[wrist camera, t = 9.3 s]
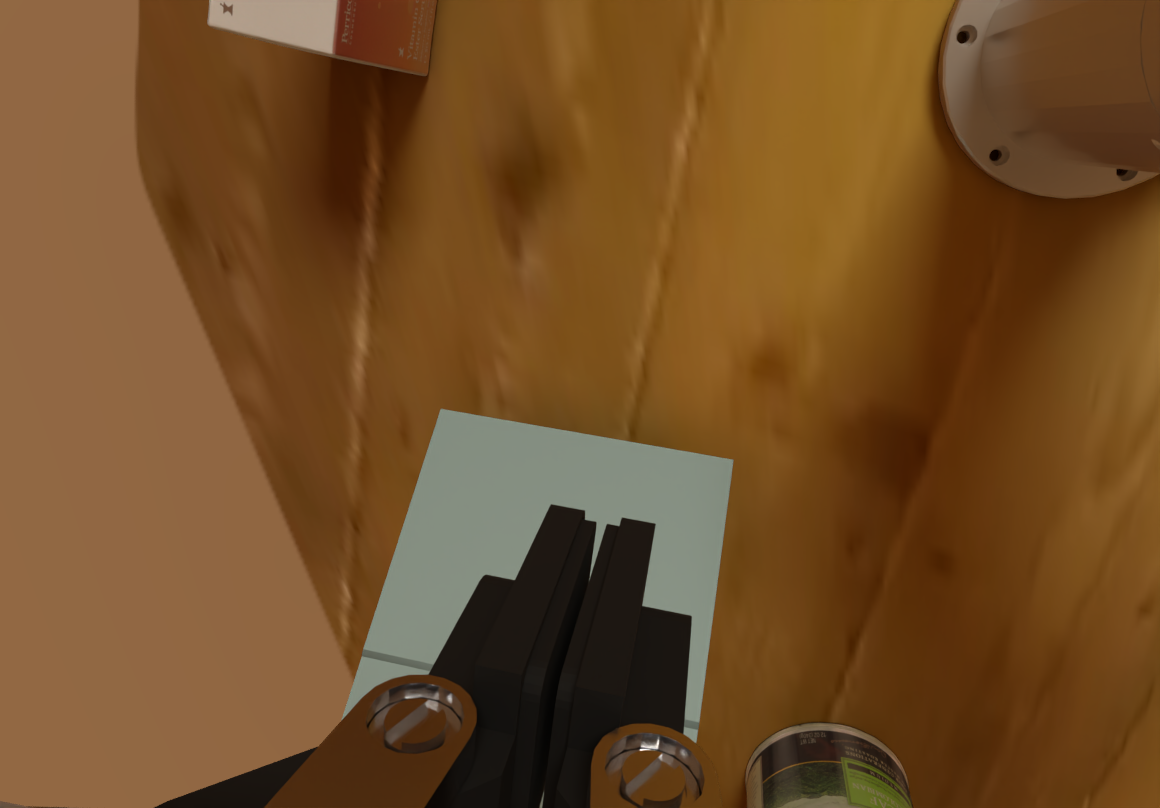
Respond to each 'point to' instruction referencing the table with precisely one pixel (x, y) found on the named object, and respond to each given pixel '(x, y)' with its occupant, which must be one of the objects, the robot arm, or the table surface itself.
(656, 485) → the flap
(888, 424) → the table surface
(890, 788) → the coffee can
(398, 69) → the small box
